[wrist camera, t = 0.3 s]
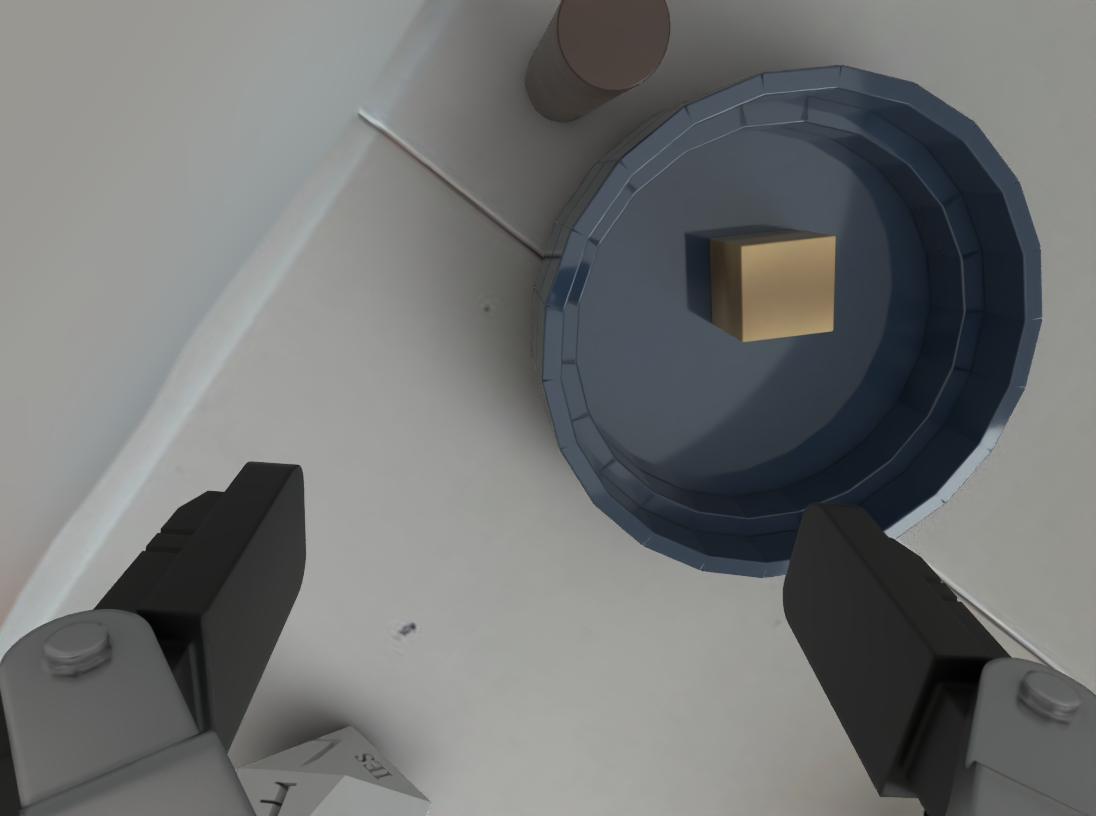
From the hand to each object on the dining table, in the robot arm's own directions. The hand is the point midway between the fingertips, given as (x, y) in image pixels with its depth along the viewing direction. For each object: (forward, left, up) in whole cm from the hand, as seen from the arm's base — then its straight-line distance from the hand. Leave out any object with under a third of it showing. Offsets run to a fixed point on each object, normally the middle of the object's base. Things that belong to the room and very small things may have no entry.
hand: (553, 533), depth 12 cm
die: (+21, -11, -19) cm, 30 cm away
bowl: (+1, +10, -19) cm, 21 cm away
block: (-1, +10, -18) cm, 21 cm away
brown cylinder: (-9, +3, -19) cm, 21 cm away
